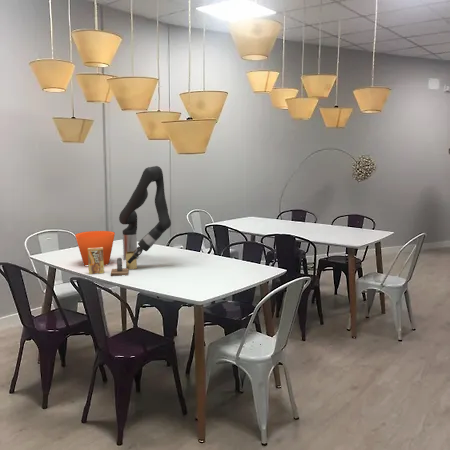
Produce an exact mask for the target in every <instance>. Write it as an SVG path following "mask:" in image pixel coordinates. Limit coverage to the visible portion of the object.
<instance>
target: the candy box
mask: <svg viewBox="0 0 450 450" xmlns="http://www.w3.org/2000/svg"><path fill="white" fill-rule="evenodd" d="M88 265H89V266H88V274H89V275H93V274H94V275H95V273H98V274H104V273H105V265H104V260H103V247H100V248H88Z"/></svg>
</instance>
